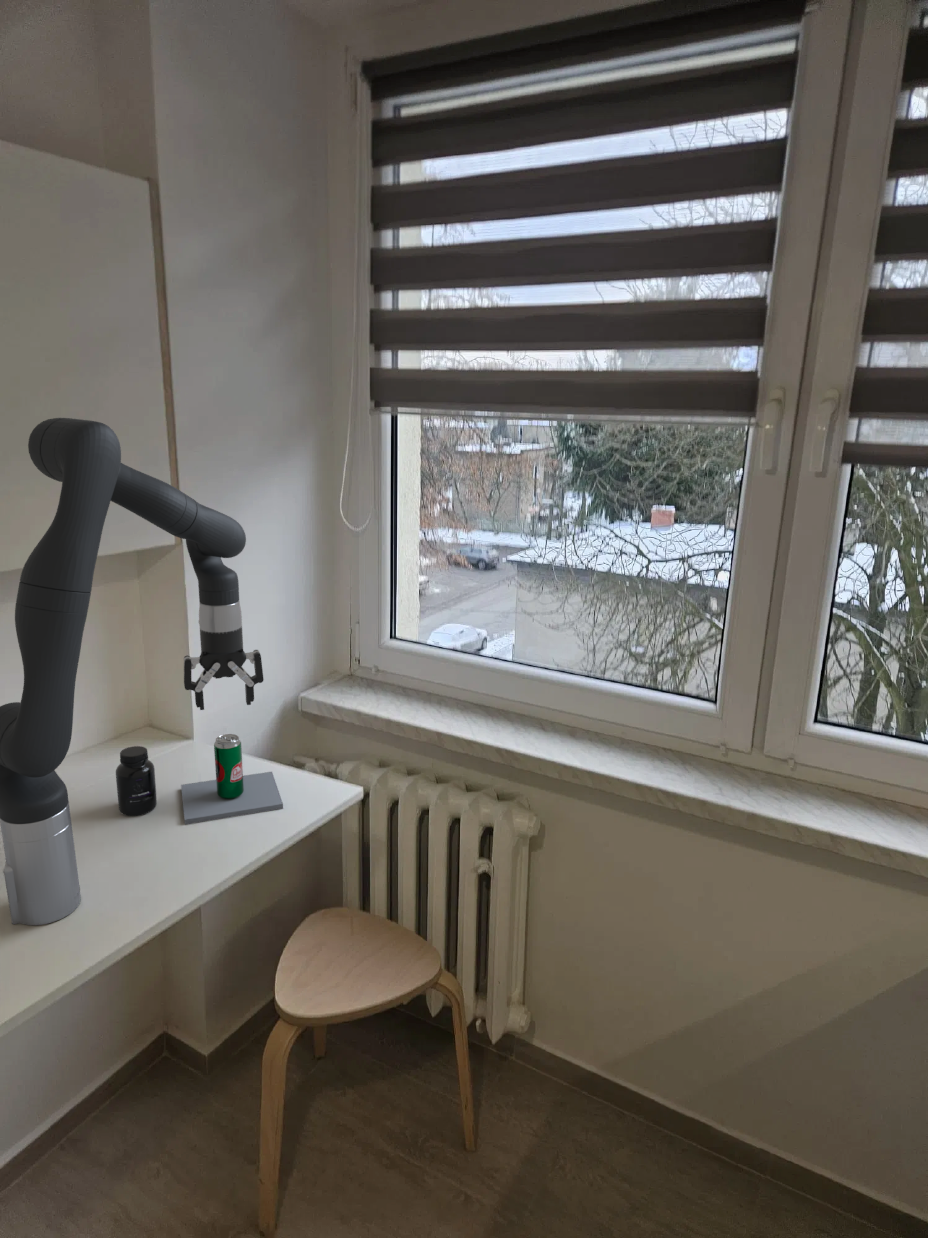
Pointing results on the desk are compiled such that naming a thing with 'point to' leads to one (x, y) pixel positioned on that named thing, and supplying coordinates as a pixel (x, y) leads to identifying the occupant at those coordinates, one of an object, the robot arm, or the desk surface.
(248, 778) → the slate gray mat
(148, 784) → the supplement bottle
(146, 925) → the desk surface
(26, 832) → the robot arm
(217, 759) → the soda can
